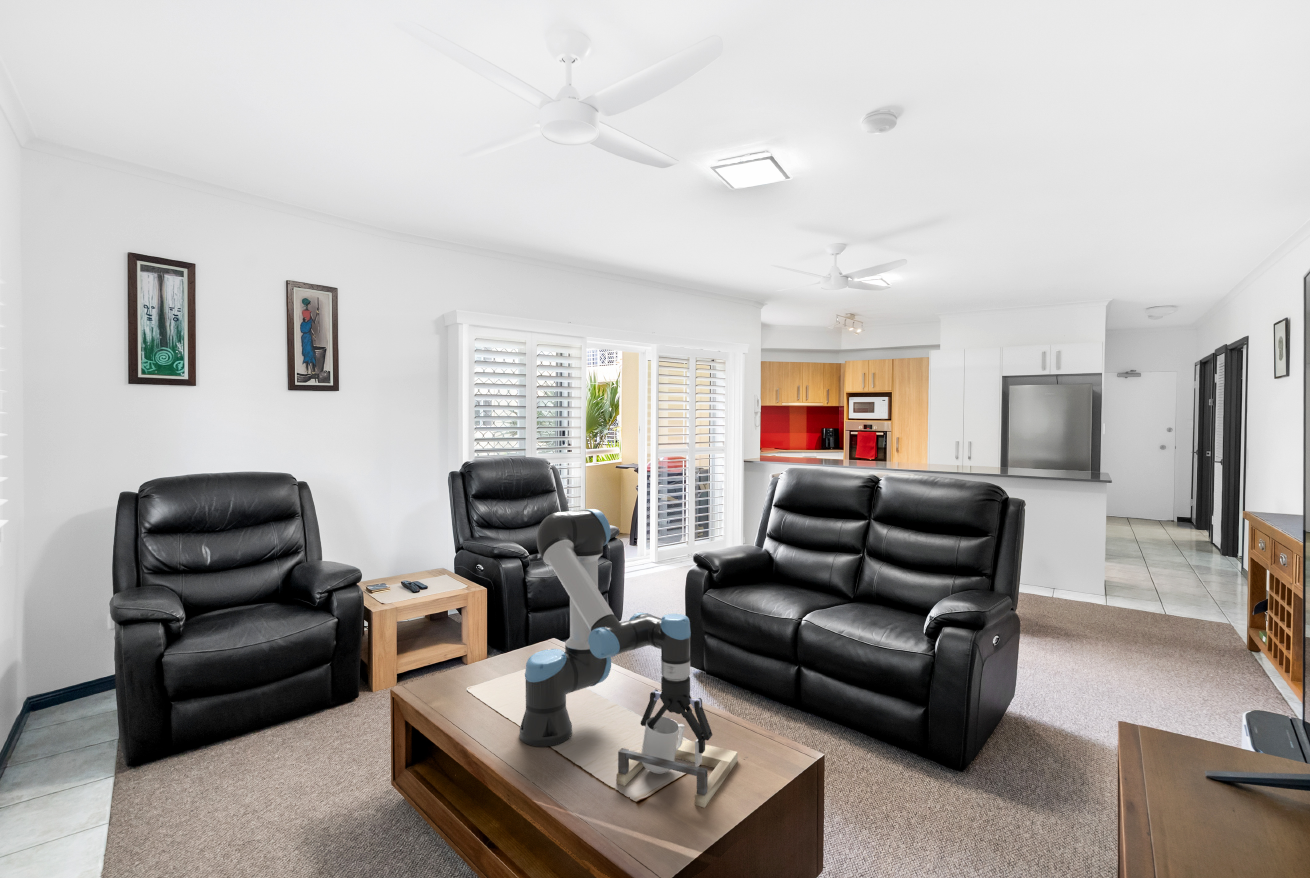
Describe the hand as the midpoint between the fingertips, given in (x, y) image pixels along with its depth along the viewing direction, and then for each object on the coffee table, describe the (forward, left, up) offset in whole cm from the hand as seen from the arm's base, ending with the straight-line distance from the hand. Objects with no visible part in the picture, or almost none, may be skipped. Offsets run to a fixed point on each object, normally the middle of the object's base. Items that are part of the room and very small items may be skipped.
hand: (675, 758), depth 167 cm
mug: (-5, +1, -3) cm, 6 cm away
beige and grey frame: (0, +2, -4) cm, 5 cm away
